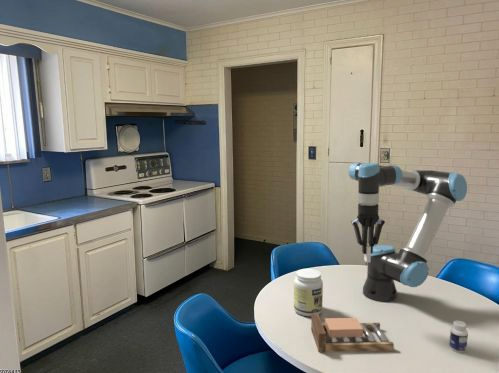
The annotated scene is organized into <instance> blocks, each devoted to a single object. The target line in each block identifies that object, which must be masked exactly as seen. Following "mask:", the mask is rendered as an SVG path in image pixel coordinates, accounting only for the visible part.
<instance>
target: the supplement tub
mask: <svg viewBox="0 0 499 373" xmlns="http://www.w3.org/2000/svg"><path fill="white" fill-rule="evenodd" d="M323 291H324V283H323V280H322V273H321V272H320V271H319V270H316V269H313V268H302V269H298V270H297V271H296V275H295V278H294V281H293V310H294V311H295V312H296V313H297V314H298V315H300V316H303V317H312V313H318V315H319V314H321V313H322V311H323V298H324V297H323V294H324V293H323Z"/></svg>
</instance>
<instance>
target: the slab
mask: <svg viewBox="0 0 499 373" xmlns="http://www.w3.org/2000/svg"><path fill="white" fill-rule="evenodd" d="M360 323H361V322H360V321H359V320H358V318H357V317H335V318H334V317H332V318H331V317H330V318H329V317H328V318H324V324H325V328H326V330H327V332H326V334H327V333H328V335H329V337H328V339H329V338H330V337H336V338H341V337H348V338H353V337H361V338H363V337H364V334H363V328H362V326H361V325H360ZM328 335H327V336H328Z"/></svg>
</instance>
